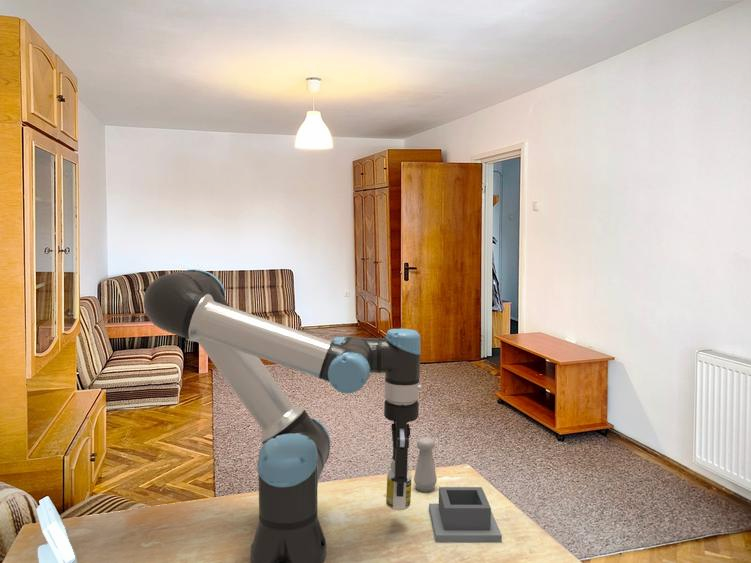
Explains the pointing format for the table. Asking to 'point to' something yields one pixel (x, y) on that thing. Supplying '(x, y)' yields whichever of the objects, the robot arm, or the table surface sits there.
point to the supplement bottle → (391, 483)
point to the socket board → (463, 516)
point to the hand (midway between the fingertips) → (398, 501)
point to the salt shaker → (425, 466)
